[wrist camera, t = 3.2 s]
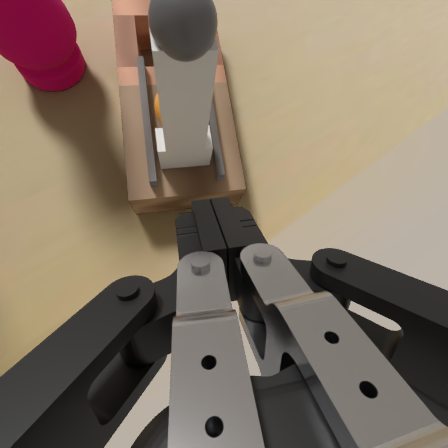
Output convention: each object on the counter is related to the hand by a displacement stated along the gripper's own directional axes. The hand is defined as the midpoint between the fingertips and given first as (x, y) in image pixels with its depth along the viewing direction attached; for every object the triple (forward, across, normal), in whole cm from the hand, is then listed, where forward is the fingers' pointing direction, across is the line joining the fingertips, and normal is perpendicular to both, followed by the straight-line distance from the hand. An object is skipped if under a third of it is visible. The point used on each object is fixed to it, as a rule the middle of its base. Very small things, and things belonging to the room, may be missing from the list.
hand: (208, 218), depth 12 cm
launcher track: (+22, 0, 0) cm, 22 cm away
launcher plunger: (+14, 0, +2) cm, 14 cm away
